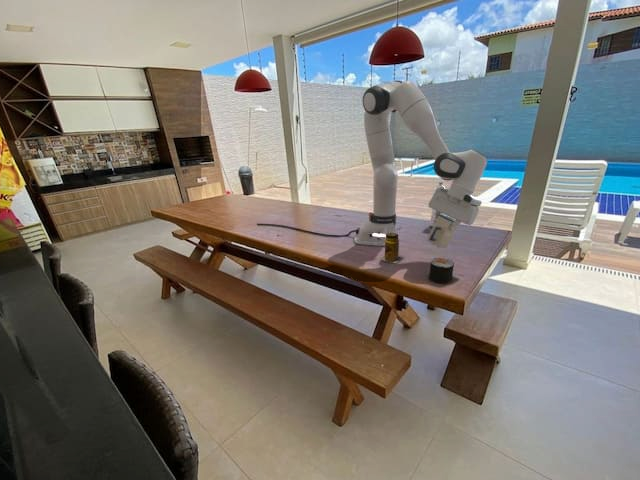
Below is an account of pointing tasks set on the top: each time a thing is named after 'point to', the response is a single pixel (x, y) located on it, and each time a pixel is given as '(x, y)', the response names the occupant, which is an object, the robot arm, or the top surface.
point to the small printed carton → (441, 231)
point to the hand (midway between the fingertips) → (443, 226)
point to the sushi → (441, 270)
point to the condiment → (392, 248)
